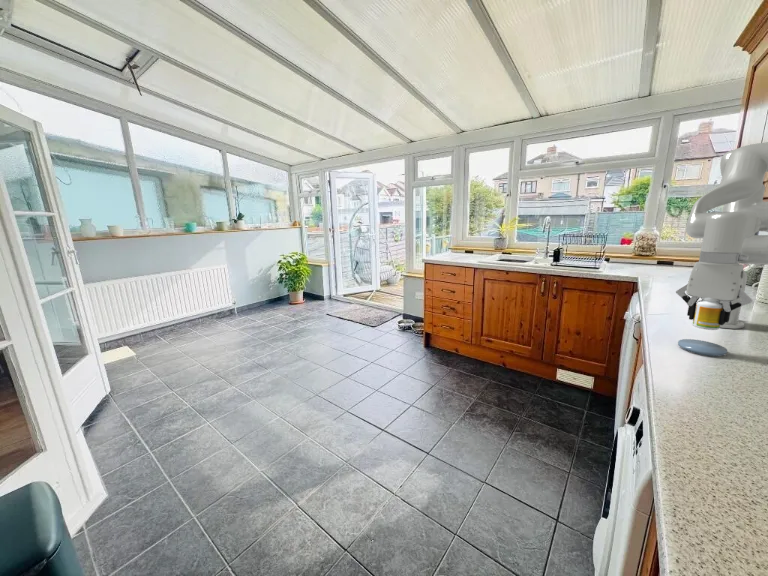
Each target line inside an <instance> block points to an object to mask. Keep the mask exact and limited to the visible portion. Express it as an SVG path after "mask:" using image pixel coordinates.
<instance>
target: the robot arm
mask: <svg viewBox="0 0 768 576" xmlns="http://www.w3.org/2000/svg"><path fill="white" fill-rule="evenodd" d="M719 164H720V165H719V166H720V174H721V181H720V183H719V185H718V186H716V187H714V188H712V189H710V190H709V191H707V192H706V193H705V194H703V195H702V196H700V197H699V198H698V199H697V200H696V201H695V203H694V204H693V205H692V208H691V210H690V213H689V215H688V218H687V221H686V227H685V231H686V234H687V235H688V236H689V237H690V238H693V239H702V243H701V248H700V252H699V253H700V254H699V259H698V261H696V262H695V263H694V265H693V267H692V270H691V272H690V275H689V279H688V283H687V284H686V285H684V286H682V287H680V288H679V289H677V290H676V291H675V293H676V295H678V296H679V297H680V298H681V299H682V300H683V301H684V302H685V303H686V305H687V306H688V308H687V313H686V315H687V316H688V320H691V321H693V319H694V314H695V308H696V303H697V302H698V301H700V299H701V298H712V299H715V300H721V301H720V303H722V304H723V311H721V315H720V319H719V324H720V327H719V329H720V328H721V329H732V330H733V329H734V330H735V329H742V328H744V327H745V323H744V322H743V321H741V320H739V317H740V314H741V309H742V307H743V306H745V305H750V304H751V303H752V302H753V299H752V298H751V297H750V296H749V295H748V294H747V293H746V292H745V290H746V288H747V287H746V285H747V281H748V275H747V273H746V271H744V264H745V265H747V264H748V265H763V266H764V265H766V266H768V234H767V235H766V234H765V235H764V234H763V235H762V234H757V233H758V232H766V233H768V201H764V196H765V191H766V186H765V185H764V179H765V176H766V173H767V172H768V142H767V141H766V142H765V141H764V142H759V143H751V144H747V145H744V146H740V147H739V148H735V149H731V150H730V151H727V152H725V153H723V156H721V158H720V163H719ZM721 206H723V209H722V211H711V210H713V209H715V208H719V207H721Z"/></svg>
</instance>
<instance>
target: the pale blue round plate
mask: <svg viewBox="0 0 768 576" xmlns="http://www.w3.org/2000/svg"><path fill="white" fill-rule="evenodd" d="M677 345H678V347H679V348H681V349H684V350H685V351H687V352H690V353H693V354H696V355H701V356H707V357H719V356H722V357H723V356H725V355H727V353H728V349H727V348H726V347H725V346H723V345H720V344H717V343H715V342H710V341H706V340H700V339H691V338H684V339H683V338H682V339H679V340H678V342H677Z"/></svg>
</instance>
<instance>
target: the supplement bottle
mask: <svg viewBox="0 0 768 576" xmlns="http://www.w3.org/2000/svg"><path fill="white" fill-rule="evenodd" d="M720 301H721V300H715V299H712V298H700V299H699V300H698V301H697V302H696V308H695V314H694V319H692V326H693V327H695V328H698V329H702V330H707V331H718V330H720V324H719V319H720V315H721V311H723V304H722V303H720Z"/></svg>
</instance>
